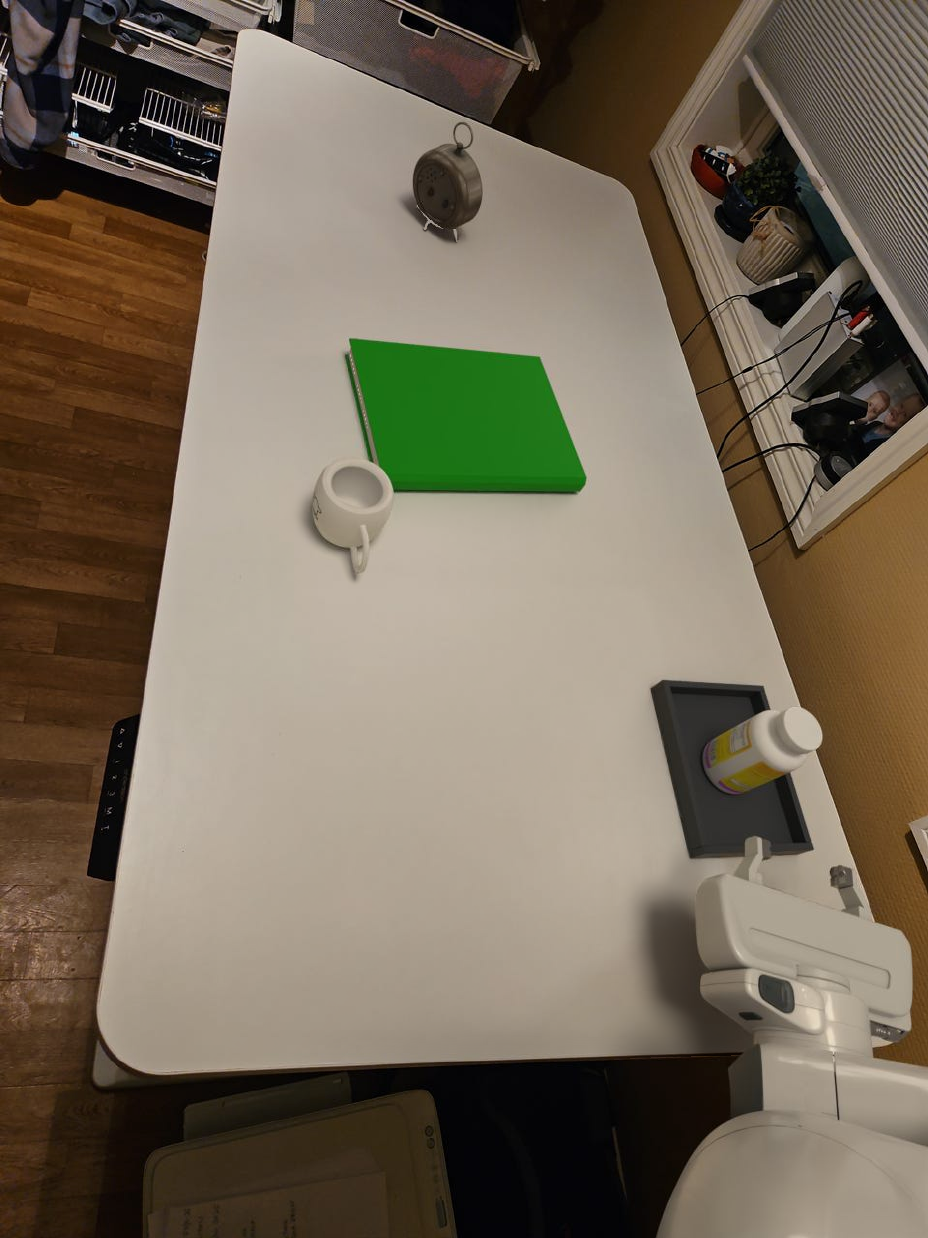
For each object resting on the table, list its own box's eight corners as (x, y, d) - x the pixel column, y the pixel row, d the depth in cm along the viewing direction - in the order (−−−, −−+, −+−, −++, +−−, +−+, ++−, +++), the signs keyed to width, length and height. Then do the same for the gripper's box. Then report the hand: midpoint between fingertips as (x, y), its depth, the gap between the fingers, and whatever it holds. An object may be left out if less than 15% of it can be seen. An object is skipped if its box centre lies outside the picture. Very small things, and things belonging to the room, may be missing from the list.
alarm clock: (467, 243, 117) (505, 142, 103) (447, 253, 114) (483, 150, 100) (418, 202, 118) (449, 96, 104) (397, 210, 115) (426, 102, 101)
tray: (797, 854, 81) (814, 849, 79) (689, 858, 76) (704, 854, 74) (749, 693, 90) (763, 685, 88) (650, 688, 86) (662, 679, 83)
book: (345, 355, 95) (349, 337, 93) (531, 372, 106) (539, 356, 104) (377, 493, 86) (383, 477, 83) (577, 494, 97) (587, 480, 95)
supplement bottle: (759, 784, 83) (843, 748, 73) (720, 804, 80) (802, 770, 70) (728, 732, 86) (805, 689, 75) (689, 749, 82) (764, 708, 72)
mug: (300, 496, 82) (311, 451, 76) (372, 496, 85) (388, 452, 79) (318, 587, 77) (331, 547, 71) (393, 583, 81) (412, 544, 74)
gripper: (944, 1049, 59) (919, 878, 67) (729, 985, 56) (729, 813, 63) (882, 1047, 64) (865, 890, 72) (682, 989, 61) (687, 830, 68)
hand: (800, 853), depth 68 cm, fingers open, 8 cm apart
